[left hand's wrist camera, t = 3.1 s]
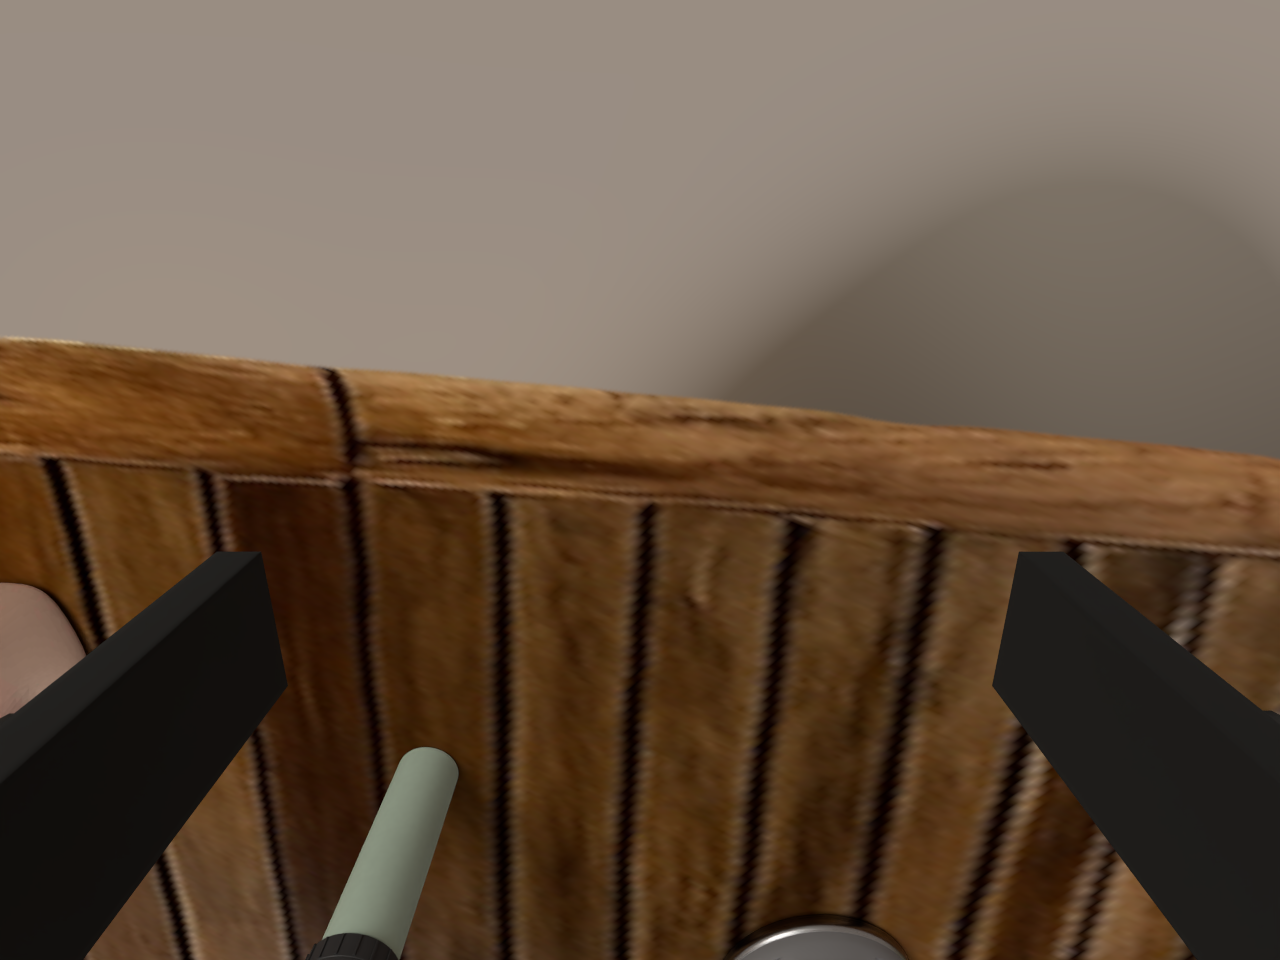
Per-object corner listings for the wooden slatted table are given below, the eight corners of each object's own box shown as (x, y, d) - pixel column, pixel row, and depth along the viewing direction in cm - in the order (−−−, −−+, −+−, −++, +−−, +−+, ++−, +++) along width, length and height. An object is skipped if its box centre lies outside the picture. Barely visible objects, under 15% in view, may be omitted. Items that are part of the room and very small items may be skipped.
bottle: (393, 748, 48) (295, 961, 35) (452, 744, 48) (378, 955, 34) (405, 796, 50) (315, 1018, 36) (463, 792, 50) (395, 1013, 36)
